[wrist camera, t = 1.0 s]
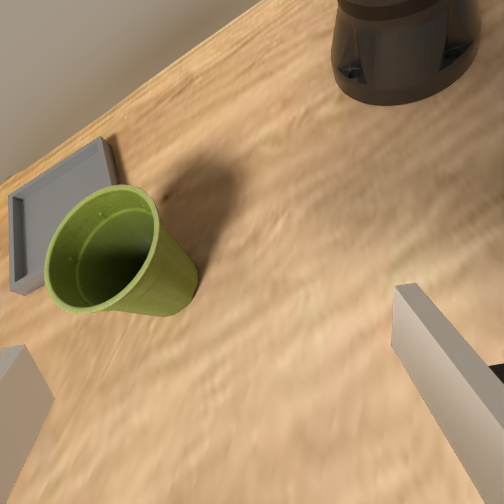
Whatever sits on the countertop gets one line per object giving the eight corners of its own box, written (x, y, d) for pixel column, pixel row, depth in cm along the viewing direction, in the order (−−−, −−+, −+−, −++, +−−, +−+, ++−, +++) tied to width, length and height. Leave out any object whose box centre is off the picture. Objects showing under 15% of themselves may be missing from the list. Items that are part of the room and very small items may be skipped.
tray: (21, 202, 57) (8, 195, 55) (110, 145, 55) (100, 135, 53) (25, 295, 49) (9, 290, 47) (132, 232, 46) (120, 224, 44)
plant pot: (108, 299, 43) (23, 263, 34) (173, 221, 45) (109, 165, 35) (166, 365, 37) (83, 344, 28) (240, 272, 38) (185, 221, 29)
